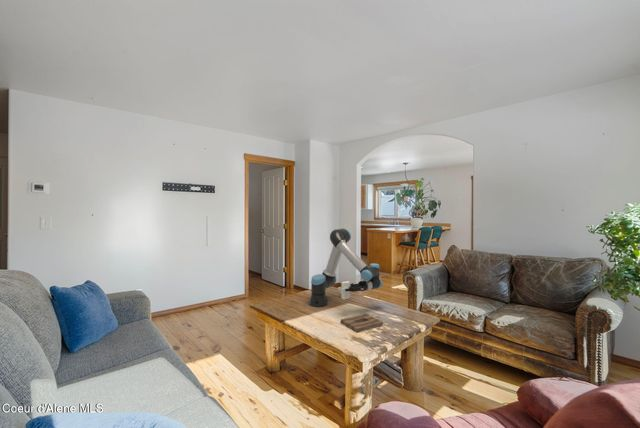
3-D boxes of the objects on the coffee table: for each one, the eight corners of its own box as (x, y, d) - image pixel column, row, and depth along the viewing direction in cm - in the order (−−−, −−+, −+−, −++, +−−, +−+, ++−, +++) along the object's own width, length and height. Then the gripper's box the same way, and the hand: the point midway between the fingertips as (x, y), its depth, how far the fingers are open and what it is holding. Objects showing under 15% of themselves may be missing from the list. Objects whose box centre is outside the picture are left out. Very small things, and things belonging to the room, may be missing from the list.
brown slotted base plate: (340, 322, 199) (340, 319, 199) (365, 316, 210) (365, 313, 210) (356, 332, 183) (356, 328, 183) (382, 325, 194) (382, 321, 194)
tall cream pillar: (341, 298, 212) (341, 282, 211) (347, 297, 215) (348, 281, 214) (343, 299, 209) (343, 283, 209) (350, 298, 212) (350, 282, 212)
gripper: (371, 293, 214) (346, 298, 202) (358, 287, 228) (333, 292, 216) (371, 283, 214) (346, 287, 202) (358, 278, 228) (333, 282, 216)
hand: (339, 289), depth 209 cm, fingers closed on tall cream pillar, 3 cm apart
